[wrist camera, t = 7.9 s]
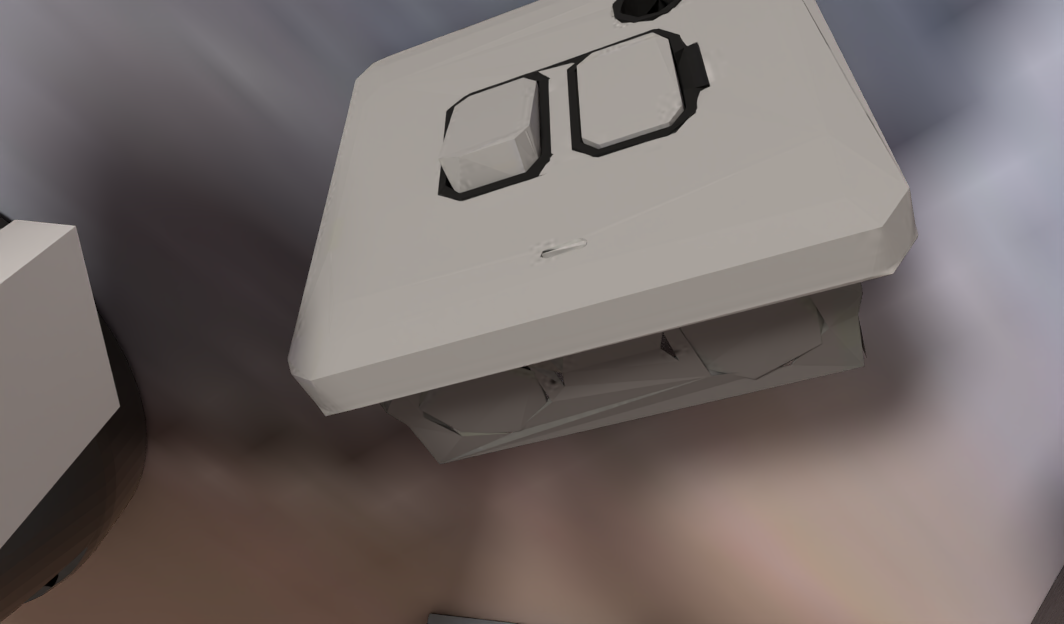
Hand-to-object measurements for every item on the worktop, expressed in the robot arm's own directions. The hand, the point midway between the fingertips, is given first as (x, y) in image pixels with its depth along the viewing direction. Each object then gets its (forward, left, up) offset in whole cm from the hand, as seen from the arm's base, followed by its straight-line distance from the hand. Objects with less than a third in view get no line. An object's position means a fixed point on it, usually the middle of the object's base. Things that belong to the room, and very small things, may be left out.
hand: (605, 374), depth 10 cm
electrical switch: (0, 0, -11) cm, 11 cm away
